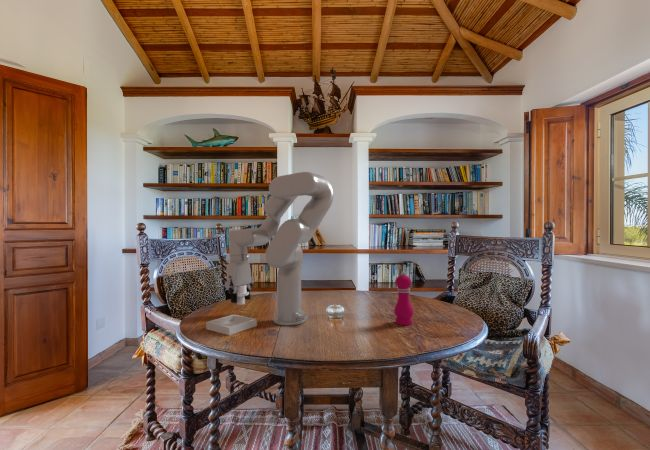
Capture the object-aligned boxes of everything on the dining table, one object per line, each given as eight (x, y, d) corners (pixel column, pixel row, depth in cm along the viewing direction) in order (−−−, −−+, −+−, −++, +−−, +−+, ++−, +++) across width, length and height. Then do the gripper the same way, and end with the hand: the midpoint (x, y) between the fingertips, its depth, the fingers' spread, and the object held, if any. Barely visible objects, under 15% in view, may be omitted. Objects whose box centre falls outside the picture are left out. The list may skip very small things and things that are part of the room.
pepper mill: (415, 321, 133) (414, 270, 133) (411, 326, 126) (411, 272, 126) (396, 319, 136) (396, 269, 136) (392, 324, 129) (391, 272, 129)
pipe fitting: (241, 306, 139) (240, 286, 140) (229, 305, 143) (228, 286, 143) (252, 303, 145) (251, 284, 145) (240, 302, 149) (239, 283, 149)
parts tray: (256, 325, 129) (256, 319, 129) (229, 335, 118) (229, 327, 118) (233, 320, 137) (233, 314, 137) (206, 329, 126) (206, 322, 126)
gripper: (248, 256, 154) (250, 296, 153) (216, 260, 139) (218, 304, 139) (259, 256, 149) (261, 297, 149) (228, 260, 135) (230, 306, 135)
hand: (240, 300), depth 144 cm, fingers closed on pipe fitting, 6 cm apart
